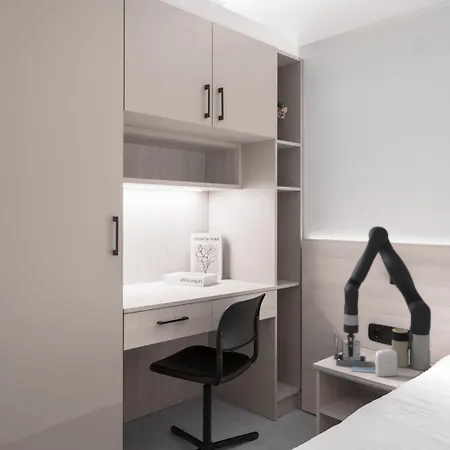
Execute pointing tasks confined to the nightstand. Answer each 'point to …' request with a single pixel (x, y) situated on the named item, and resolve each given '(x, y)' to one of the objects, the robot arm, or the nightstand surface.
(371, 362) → the nightstand surface
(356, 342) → the ink box
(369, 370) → the pad
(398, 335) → the travel mug
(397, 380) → the nightstand surface
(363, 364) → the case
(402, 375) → the nightstand surface
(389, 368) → the photo printer
